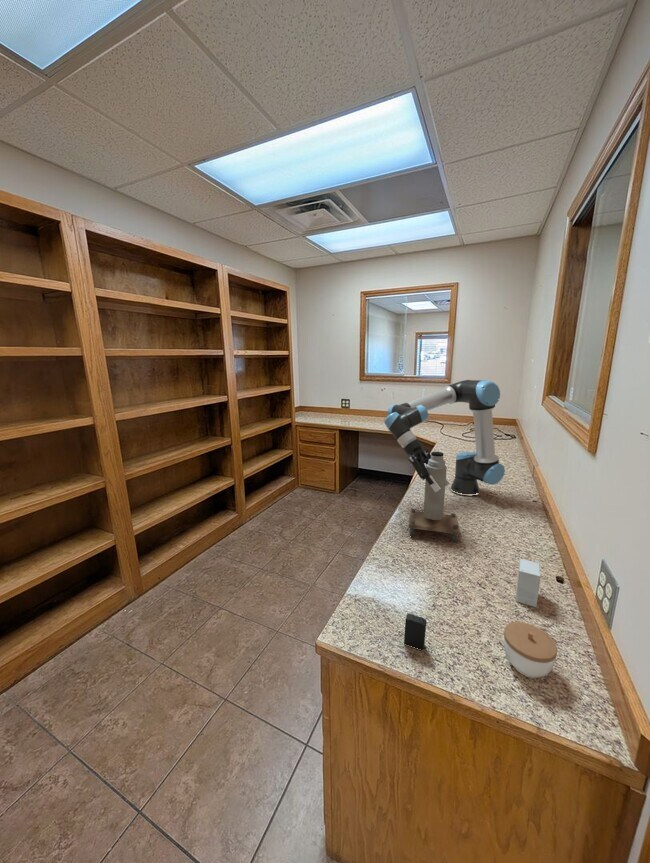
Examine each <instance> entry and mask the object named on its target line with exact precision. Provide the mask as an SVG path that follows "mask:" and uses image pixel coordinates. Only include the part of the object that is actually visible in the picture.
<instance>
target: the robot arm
mask: <svg viewBox="0 0 650 863" xmlns="http://www.w3.org/2000/svg"><path fill="white" fill-rule="evenodd" d="M500 397H501V391H500V387H499V386H498V384H496V383H495V382H494V381H491V380H482V379H481V380H479V379H478V380H477V379H475V380H474V379H465V380H461V381H457V382H455V383H451V384H448V385H446V386H444V387H443V389H440V390H438V391H435V392H432V393H430V394H426V395H424V396H421V397H418V398H415V399H413V400H409V401H407V402H403V403H401V404H392V405H390V406H389V407H388V409H387V416H386V417H385V419H384V424H385V426H386V428H387V430H388V431H389V432H390V433H391V434H392V436H393V437H394V438H395V439H396V441H397V442H398V444H399V445H400V446H401V448H403V451H404V452H405V453H406V455H407V456H410V457H409V458H408V459H407V460H408V461H409V462H410V463H411V464H412V466H413V468H414V470H415V472H417V475H418V476H419V478H420V479H422V480H423V481H426V480H427V482H428V483H429V484H430V486H431V487H432V488H433V490H434V491H435V492H437V491H438V490H440V489H441V488H440V487H439V485H438V484H437V483H436V481H435V480H434V479H433V477H432V476H429V473H428V471H427V469H426V465H427V464H428V461H429V459H431V452H429V450H423V449H422V447H423V444H422V443H421V441H420V440H419V439H418V438H417V436H416V435H415V434H414V432H413V431H412V430H411V429H412V428H414V427H416V426H417V425H419V424H421V423H423V422H425V421H426V420H428V418H429V412H428V411H431V410H432V409H436V408H439V407H442V406H443V405H447V404H449V405H452V404H455V403H467V404H468V409H469V411H471V412H472V416H473V417H472V418H473V428H474V429H473V430H474V439H475V452H474V451H462V452H458V453H457V455H456V459H455V472H454V479H453V480H452V483H451V482H450V481H449V480H448V478H447V477H446V483H445V487H447V486H448V485H450V490H451V489H452V490H453V491H455V492H458V493H462V494H476V493H479V494H480V492H479V491H480V487H479V482H478V480H479V481H480V482H483V483H485V484H488V485H496V484H498V483H499V482H500V481H501V480H502V479H503V478H504V475H505V473H506V470H505V469H506V468H505V466H504V465H503V464H502V463H500V459H499V456H498V455H497V454H496V451H495V450H496V448H495V436H494V422H493V421H494V419H493V418H494V417H493V410H494V409H495V408H496V404H498V402H499V400H500V399H501V398H500Z"/></svg>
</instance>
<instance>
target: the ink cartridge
mask: <svg viewBox="0 0 650 863" xmlns="http://www.w3.org/2000/svg"><path fill="white" fill-rule="evenodd" d="M404 622H405V624H404V626H405V627H404V637H403V644H404V645H405V644H406V645H409V646H412V647H415V648H418V649H421V650H423V651H424V650H425V648H424V647H425V644H426V642H425V641H426V630H427V619H426V618H424V617H422V616H418V615H415V614H412V613H408V612H407V613H406V617H405V621H404ZM406 645H405V646H406ZM409 646H408V647H409ZM412 647H411V648H412ZM415 648H414V649H415ZM418 649H417V650H418ZM421 650H420V651H421Z"/></svg>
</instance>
